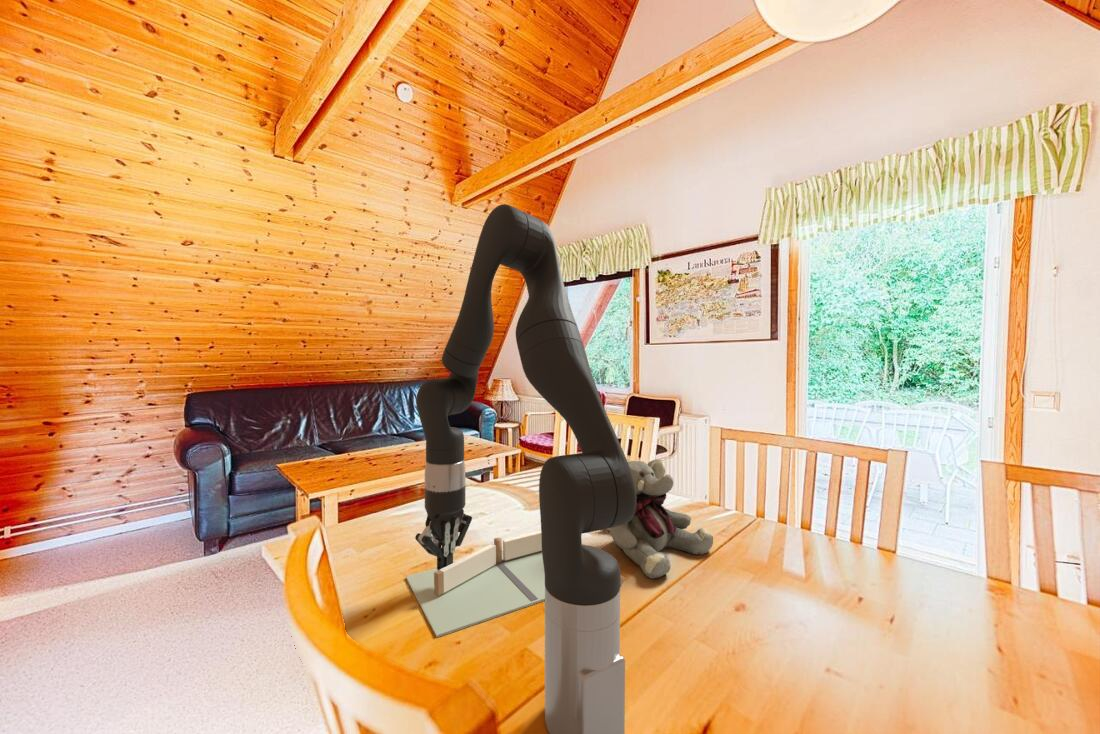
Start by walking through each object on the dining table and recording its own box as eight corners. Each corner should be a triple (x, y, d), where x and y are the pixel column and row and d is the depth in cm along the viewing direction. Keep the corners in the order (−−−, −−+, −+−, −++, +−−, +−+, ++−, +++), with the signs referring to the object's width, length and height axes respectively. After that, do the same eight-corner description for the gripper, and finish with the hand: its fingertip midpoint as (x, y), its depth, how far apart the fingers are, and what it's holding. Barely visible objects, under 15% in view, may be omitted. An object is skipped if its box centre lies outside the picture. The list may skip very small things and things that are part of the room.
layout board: (602, 580, 87) (602, 578, 87) (436, 637, 71) (436, 634, 71) (548, 540, 105) (548, 538, 105) (405, 578, 89) (405, 575, 89)
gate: (491, 562, 93) (491, 543, 93) (496, 564, 93) (495, 545, 92) (434, 593, 82) (434, 572, 81) (438, 595, 81) (438, 574, 81)
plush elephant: (725, 556, 98) (727, 463, 97) (654, 586, 86) (655, 480, 85) (638, 517, 120) (639, 441, 119) (572, 536, 108) (572, 452, 107)
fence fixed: (559, 549, 101) (559, 525, 101) (496, 567, 93) (495, 541, 93) (555, 546, 102) (555, 523, 102) (493, 564, 94) (492, 538, 94)
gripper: (432, 497, 76) (432, 595, 77) (483, 478, 87) (483, 563, 89) (403, 489, 80) (404, 581, 81) (455, 471, 91) (455, 553, 93)
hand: (445, 572), depth 85 cm, fingers closed
